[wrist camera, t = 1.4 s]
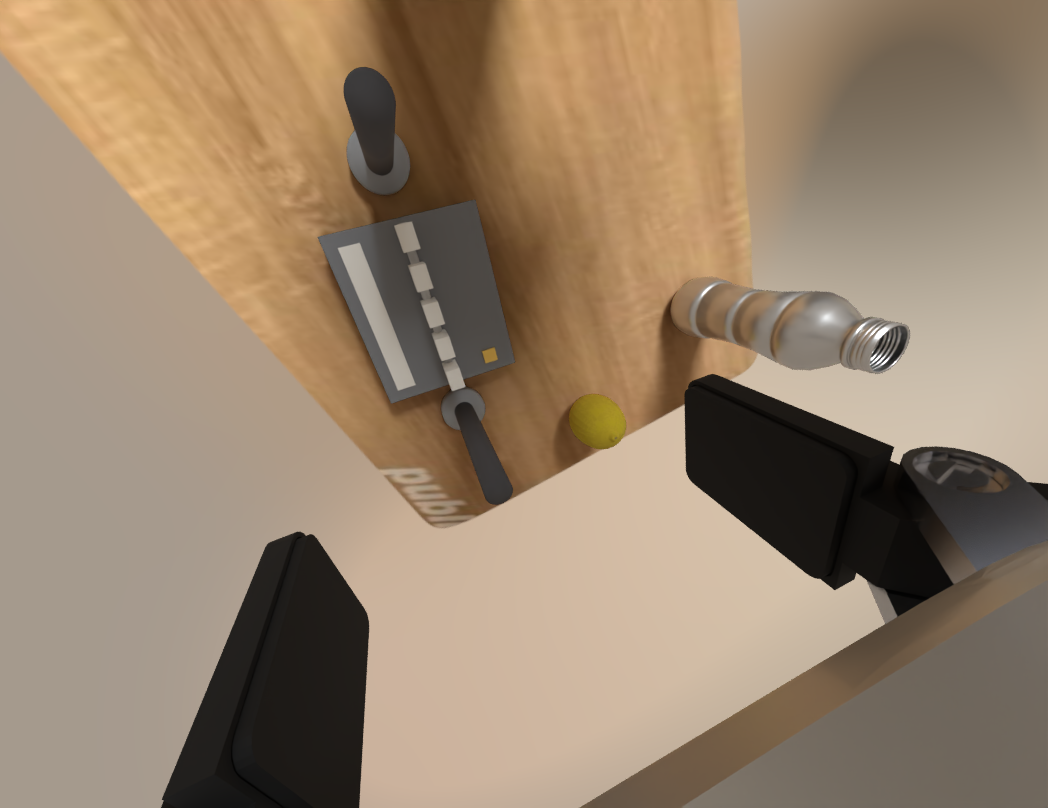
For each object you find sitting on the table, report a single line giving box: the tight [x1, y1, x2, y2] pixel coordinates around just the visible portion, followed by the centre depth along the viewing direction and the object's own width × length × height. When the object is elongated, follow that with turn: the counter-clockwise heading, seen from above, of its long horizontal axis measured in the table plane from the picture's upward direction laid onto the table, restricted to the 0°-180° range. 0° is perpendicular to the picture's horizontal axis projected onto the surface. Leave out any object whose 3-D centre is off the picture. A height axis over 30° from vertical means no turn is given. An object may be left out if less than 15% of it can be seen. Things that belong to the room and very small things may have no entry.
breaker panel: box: [318, 200, 515, 403], centre depth 32 cm, size 14×12×3 cm
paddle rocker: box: [394, 221, 465, 391], centre depth 30 cm, size 13×1×3 cm, turn 13°
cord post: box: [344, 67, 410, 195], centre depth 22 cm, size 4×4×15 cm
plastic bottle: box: [670, 277, 910, 374], centre depth 34 cm, size 6×7×20 cm
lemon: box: [569, 394, 626, 449], centre depth 40 cm, size 6×6×8 cm
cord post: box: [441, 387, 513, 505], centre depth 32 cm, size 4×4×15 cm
